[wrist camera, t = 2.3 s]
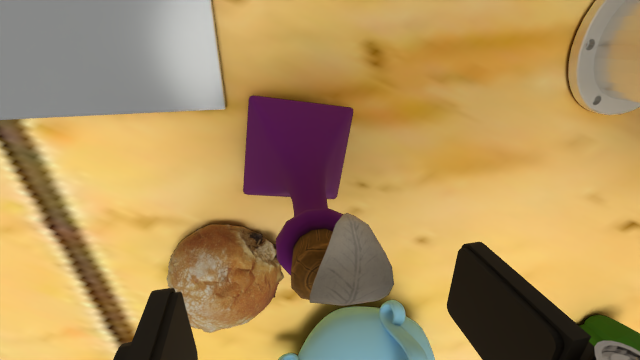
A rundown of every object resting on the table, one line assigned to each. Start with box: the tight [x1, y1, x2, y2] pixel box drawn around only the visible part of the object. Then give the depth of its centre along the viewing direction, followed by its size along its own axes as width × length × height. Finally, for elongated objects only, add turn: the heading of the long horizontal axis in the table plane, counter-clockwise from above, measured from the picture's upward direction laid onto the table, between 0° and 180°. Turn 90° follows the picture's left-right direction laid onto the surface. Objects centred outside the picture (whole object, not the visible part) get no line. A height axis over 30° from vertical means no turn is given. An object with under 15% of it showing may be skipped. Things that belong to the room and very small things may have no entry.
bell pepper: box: [580, 315, 640, 351], centre depth 42 cm, size 8×8×10 cm
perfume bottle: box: [243, 96, 394, 306], centre depth 18 cm, size 8×8×18 cm
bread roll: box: [167, 224, 284, 333], centre depth 28 cm, size 10×10×8 cm
